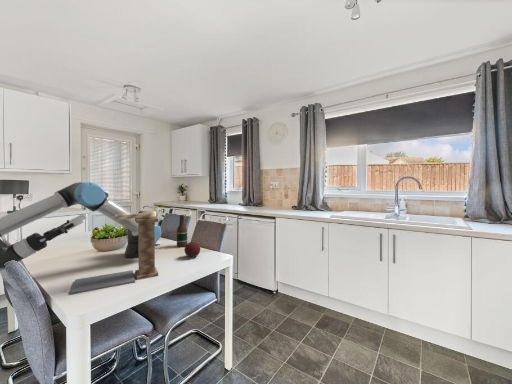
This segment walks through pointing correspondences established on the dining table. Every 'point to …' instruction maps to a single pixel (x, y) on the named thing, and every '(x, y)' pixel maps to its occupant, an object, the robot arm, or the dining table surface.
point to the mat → (102, 281)
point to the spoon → (137, 215)
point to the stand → (146, 248)
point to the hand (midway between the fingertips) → (83, 217)
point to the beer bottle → (181, 233)
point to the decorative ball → (192, 249)
